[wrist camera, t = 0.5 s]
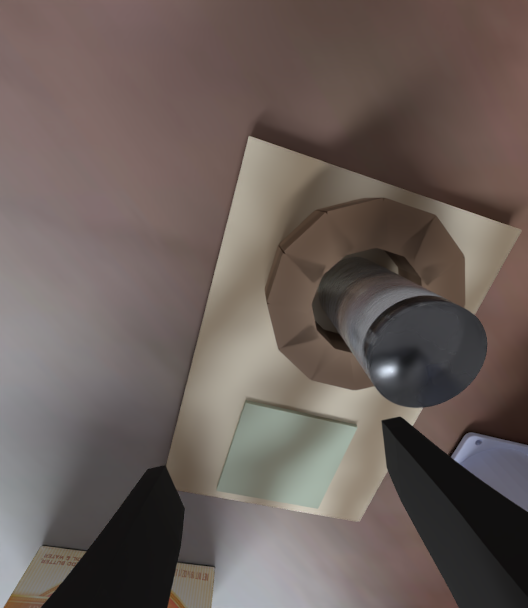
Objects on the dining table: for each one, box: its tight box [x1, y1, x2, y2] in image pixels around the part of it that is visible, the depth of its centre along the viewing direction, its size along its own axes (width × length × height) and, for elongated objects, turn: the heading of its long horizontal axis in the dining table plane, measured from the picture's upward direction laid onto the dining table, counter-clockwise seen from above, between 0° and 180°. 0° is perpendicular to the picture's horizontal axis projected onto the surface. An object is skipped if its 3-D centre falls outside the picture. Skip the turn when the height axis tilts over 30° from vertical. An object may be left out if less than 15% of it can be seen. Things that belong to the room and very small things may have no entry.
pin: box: [318, 257, 487, 408], centre depth 14 cm, size 4×4×8 cm
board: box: [166, 136, 522, 522], centre depth 19 cm, size 16×24×4 cm, turn 163°
